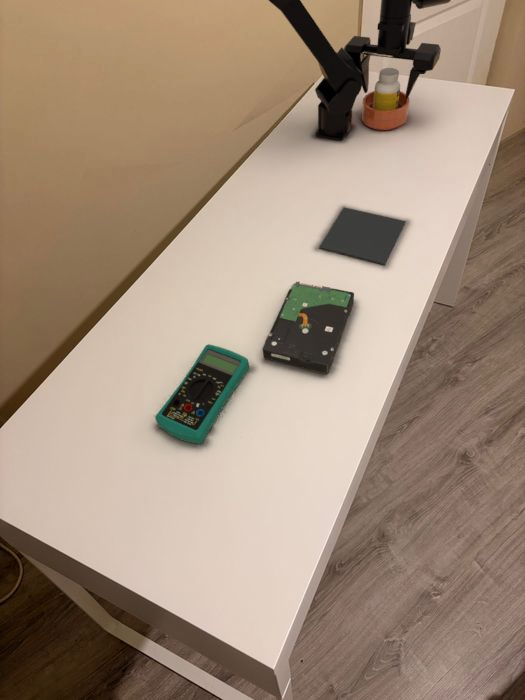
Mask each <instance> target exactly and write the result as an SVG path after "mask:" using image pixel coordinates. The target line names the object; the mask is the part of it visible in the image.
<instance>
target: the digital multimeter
mask: <svg viewBox="0 0 525 700" xmlns="http://www.w3.org/2000/svg"><path fill="white" fill-rule="evenodd" d="M249 369H250V363H249V359H248V358H247V357H245V356H243V355H241V354H240V353H236V352H234V351H232V350H230V349H227V348H223V347H220V346H217V345H213V344H205V346H204V348H203V349H202V350H201V352H200V354H199V355H198V357H197V359H195V362H194V363H193V365H192V366H191V367H190V369H189V370H188V372H187V373H186V375H185V376H184V378H183V380H182V381H181V382H180V384H179V385H178V386H177V388H176V389H175V391H174V392H173V393H172V394H171V396H170V397H169V398H168V400H167V401H166V402H165V403H164V404H163V406H162V407H161V408H160V409H159V411H158V412H157V414H156V415H155V416H154V418H155V419H154V420H155V421H156V423H157V424H158V426H159V427H160V428H161V429H163V430H164V431H165V432H166V433H167V434H169V435H171V436H172V437H174V438H176V439H178V440H181V441H184V442H188V443H193V444H197V445H200V444H202V443H203V442H204V440H205V438H206V437H207V435H208V433H209V432H210V430H211V428H212V426H213V424H214V423H215V421H216V420H217V418H218V416H219V414H220V412H221V411H222V409H223V408H224V406H225V404H226V403H227V401H228V400H229V398H230V397H231V396H232V394H233V392H234V390H235V389H236V387H238V385H239V384H240V382H241V380H242V379H243V378H244V376H245V375H246V373H247V372H248V371H249Z"/></svg>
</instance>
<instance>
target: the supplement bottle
mask: <svg viewBox="0 0 525 700" xmlns="http://www.w3.org/2000/svg"><path fill="white" fill-rule="evenodd" d="M399 75H400V72H399V70H398V69H397V68H394V67H385V68H382V69H380V71H379V74H378V80H377V81H376V83H375V85H374V90H373V91H374V101H373V109H375V110H381V111H390V110H396V109H397V108H398V100H399V93H400V91H401V83H400V81H398V80H399Z"/></svg>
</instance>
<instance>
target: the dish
mask: <svg viewBox="0 0 525 700" xmlns="http://www.w3.org/2000/svg"><path fill="white" fill-rule="evenodd" d="M373 101H374V90H373V91H370V92H369V93H368V92H367V93H366V94H365V95H364V97H363V98H362V108H361V121H362V122H363V124H364V125H366V126H367V127H369V128H371V129H374V130H379V131H389V130H393V129H394V130H395V129H397V128H398V127H401V126H402V125H404V124H405V123H406V121H407V120H408V115H409V110H410V109H409V108H410V96H409V97H408V99H406V92H404V91H401V90H400V93H399V100H398V108H397V109H396V110H390V111H381V110H375V109H373Z"/></svg>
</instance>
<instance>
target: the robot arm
mask: <svg viewBox="0 0 525 700" xmlns="http://www.w3.org/2000/svg"><path fill="white" fill-rule="evenodd" d="M268 1H269V2H270V4H272V5H273V6H274V7H276V8H277V9H278V10H279V11H280V12H281V13H282V14H283V16H284V17H285V19H286V20H287V21H288V22H289V24H290V26H291V27H292V29H293V30H294V31H295V32H296V34H297V35H298V36H299V39H301V41H302V42H303V44H304V45H305V47H307V49H308V50H309V52H310V54H311V55H312V57H314V59H315V60H316V61H317V63H318V66H319V69H320V72H321V74H322V77H323V79H322V80H321V81H320V82H319V83H318V85H316V87H315V89H314V91H315V94H316V97H317V98H318V99H319V101H320V102H319V103H318V104H317V130H316V132H314V136H315V137H317V138H324V139H329V140H335V141H340V142H341V141H343V140H344V139H345V138H346V136H347V135H348V134H349V132H350V131H351V129H352V127H353V124H352V123H353V122H352V121H353V107H354V105H355V102H356V100H357V97H358V95H359V94H360V93H361V90H363V92H364V94H368V92H369V83H370V82H369V81H370V80H369V79H370V76H369V75H370V59H371V56H372V57H380V58H381V57H382V58H388V59H389V58H391V59H399V60H407V61H412V67H411V69H410V71H409V75H408V81H407V86H406V90H405V94H406V99H408V97H409V98H410V96H411V94H412V92H413V89H414V87H415V85H416V83H417V80H418V78H419V76H420V75H425V74H426V73H427V72H430V71H433V70H434V68H435V67H436V65H437V63H438V62H439V60H440V58H441V57H440V56H441V51H442V50H441V46H440V45H439V44H437V43H426V42H421V43H420V45H419V46H418V47H417V48H409V47H407V46H409V45H410V44H411V41H413V39H414V38H413V37H414V34H415V28H416V25H417V24H416V22H414V21H412V14H411V12H412V5H415V7H416V8H417V9H418V10H422V9H427V8H431V7H437V6H441V5H446V4H449V3H450V2H451V1H452V0H380V11H379V21H378V23H377V29H376V30H377V31H378V33H377V44H373V43H372V44H371V41H372V40H371V37H370V36H361V35H360V36H359V35H353V37H352V38H350V39H349V41H348V42H347V43H346V44H345V45H344V48H343V46H342V47H340V48H339V50H338V51H336V50H335V49H334V48H333V46H332V45H331V43H330V42H329V40H328V39H327V38H326V37H327V36H325V34H324V33H323V31H322V30H321V28H320V27H319V25H318V24H317V22H316V21H315V19H314V18H313V17H312V15H311V13H309V10H308V9H307V8H306V7H305V5H304V4H303V2H302V1H301V0H268Z"/></svg>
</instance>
